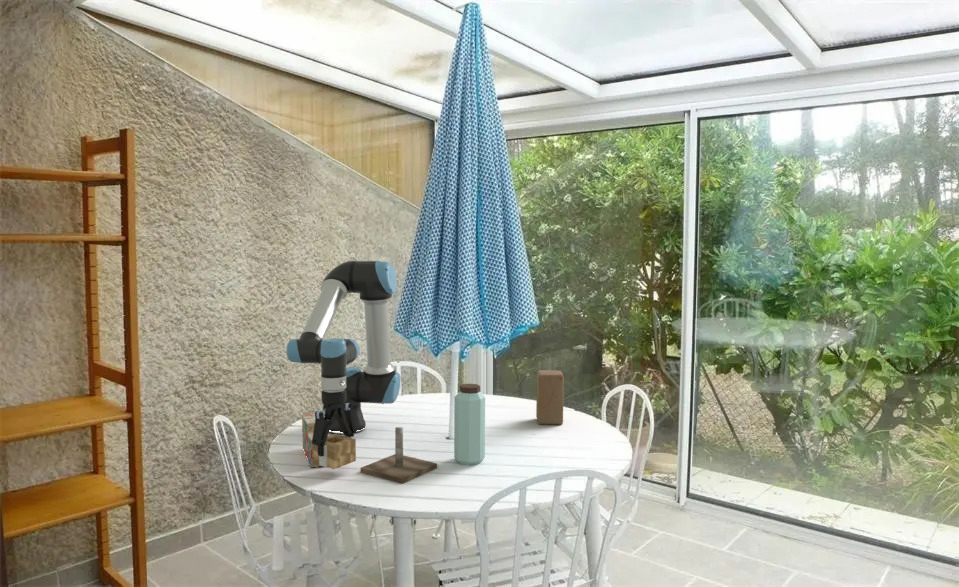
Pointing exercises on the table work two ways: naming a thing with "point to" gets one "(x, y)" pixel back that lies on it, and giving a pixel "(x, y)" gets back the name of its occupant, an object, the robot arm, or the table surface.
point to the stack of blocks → (308, 437)
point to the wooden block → (550, 397)
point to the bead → (338, 451)
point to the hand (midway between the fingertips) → (335, 461)
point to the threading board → (398, 472)
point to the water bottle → (469, 425)
